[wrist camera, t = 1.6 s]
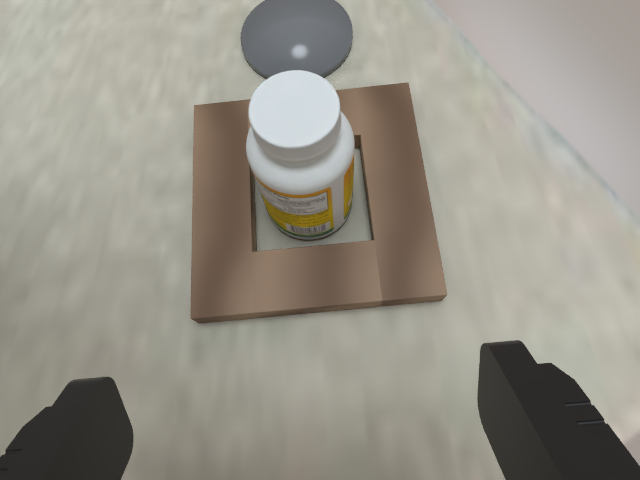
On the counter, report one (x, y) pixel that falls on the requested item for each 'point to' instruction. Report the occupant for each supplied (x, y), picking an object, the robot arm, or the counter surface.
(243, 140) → the pocket board
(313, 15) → the coaster
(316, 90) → the supplement bottle
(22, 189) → the counter surface
